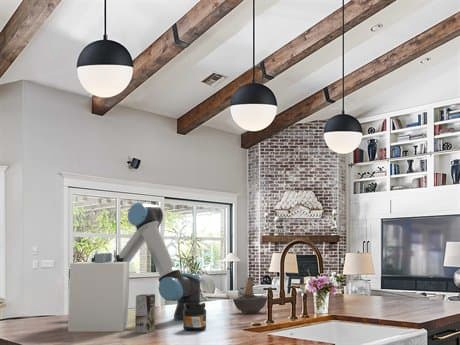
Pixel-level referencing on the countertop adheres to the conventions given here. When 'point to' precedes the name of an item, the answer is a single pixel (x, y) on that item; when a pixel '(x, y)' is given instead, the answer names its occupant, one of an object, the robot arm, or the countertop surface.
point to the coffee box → (145, 313)
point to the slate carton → (103, 257)
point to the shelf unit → (98, 297)
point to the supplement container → (194, 316)
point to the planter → (250, 300)
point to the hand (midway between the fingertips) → (105, 252)
